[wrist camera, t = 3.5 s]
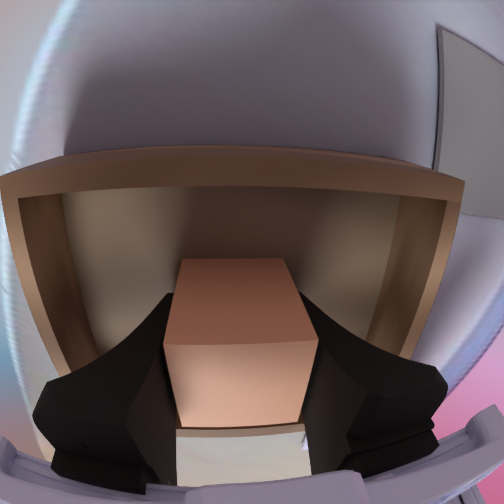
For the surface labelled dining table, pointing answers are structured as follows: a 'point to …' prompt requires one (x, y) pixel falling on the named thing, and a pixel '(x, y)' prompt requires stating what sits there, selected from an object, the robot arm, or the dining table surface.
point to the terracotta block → (238, 343)
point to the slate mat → (471, 125)
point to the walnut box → (226, 239)
